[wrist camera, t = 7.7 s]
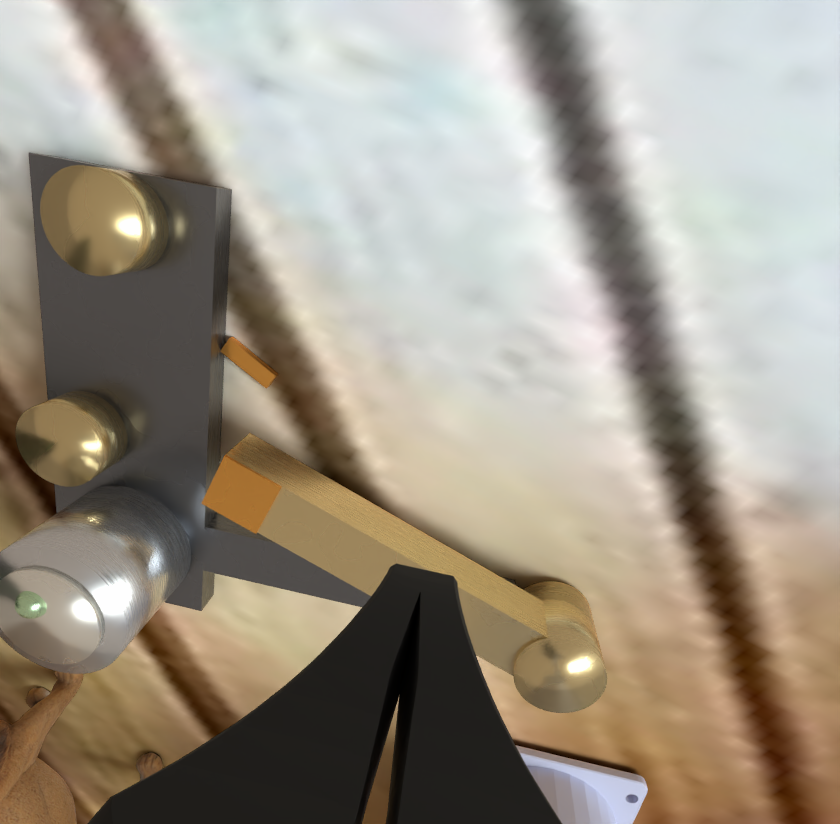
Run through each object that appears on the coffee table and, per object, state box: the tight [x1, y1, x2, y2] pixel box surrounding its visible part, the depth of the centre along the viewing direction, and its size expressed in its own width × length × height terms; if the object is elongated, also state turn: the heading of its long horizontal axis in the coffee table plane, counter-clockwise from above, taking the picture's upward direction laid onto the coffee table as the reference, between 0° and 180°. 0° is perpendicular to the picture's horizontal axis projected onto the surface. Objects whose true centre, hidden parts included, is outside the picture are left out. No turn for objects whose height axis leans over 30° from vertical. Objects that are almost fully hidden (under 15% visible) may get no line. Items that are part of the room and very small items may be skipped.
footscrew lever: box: [201, 433, 607, 713], centre depth 19 cm, size 14×3×3 cm, turn 60°
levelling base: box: [0, 153, 515, 674], centre depth 17 cm, size 16×18×6 cm
